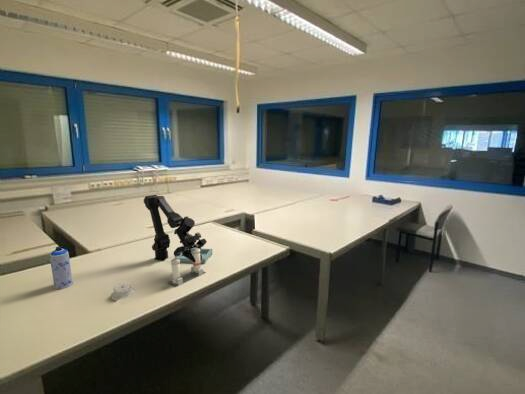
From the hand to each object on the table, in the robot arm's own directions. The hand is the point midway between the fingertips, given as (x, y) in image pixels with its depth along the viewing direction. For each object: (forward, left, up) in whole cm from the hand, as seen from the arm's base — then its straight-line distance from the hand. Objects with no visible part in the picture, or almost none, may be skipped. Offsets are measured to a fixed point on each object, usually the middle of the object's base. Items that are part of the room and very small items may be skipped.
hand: (198, 260), depth 150 cm
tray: (-9, +21, -8) cm, 24 cm away
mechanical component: (-29, -23, -9) cm, 38 cm away
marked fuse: (-1, +1, -6) cm, 6 cm away
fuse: (-8, -10, -7) cm, 15 cm away
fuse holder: (-5, -5, -8) cm, 11 cm away
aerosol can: (-63, -17, -9) cm, 66 cm away
